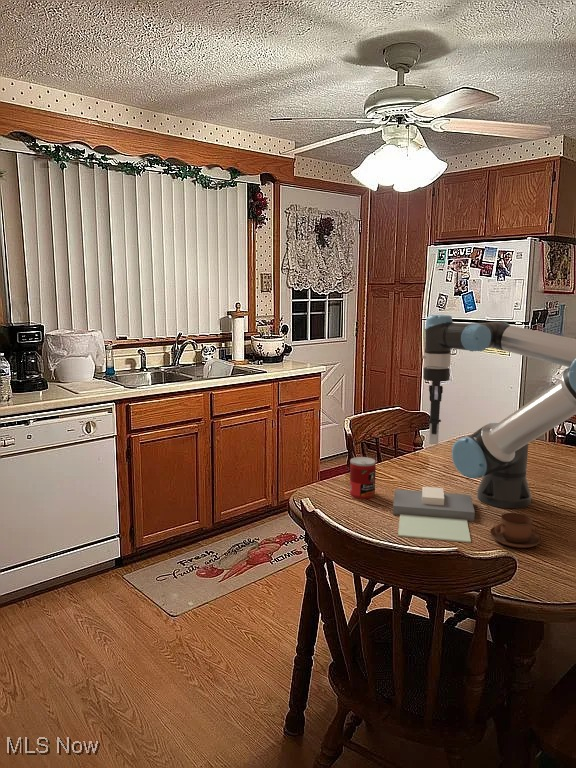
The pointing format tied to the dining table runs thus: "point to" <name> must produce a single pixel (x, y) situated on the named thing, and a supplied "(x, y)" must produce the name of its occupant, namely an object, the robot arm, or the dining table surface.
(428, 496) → the cream flat block
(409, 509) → the plate
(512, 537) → the cup and saucer
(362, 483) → the canned food
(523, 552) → the dining table surface
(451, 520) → the sage mat
